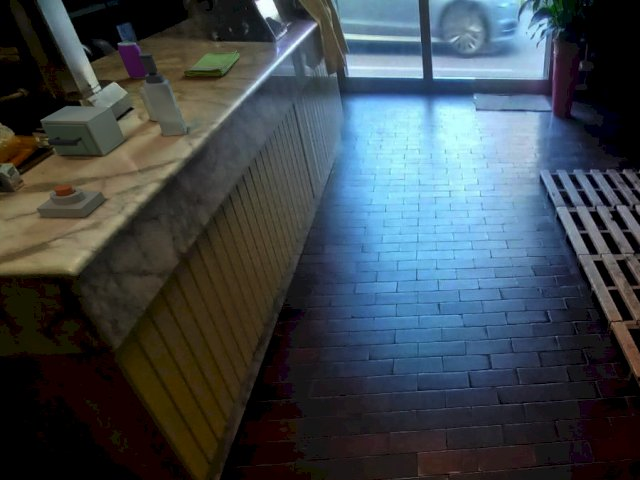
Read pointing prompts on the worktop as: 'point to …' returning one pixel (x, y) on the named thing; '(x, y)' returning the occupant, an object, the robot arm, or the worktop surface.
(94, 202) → the control block
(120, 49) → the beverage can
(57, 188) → the button
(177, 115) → the soap dispenser
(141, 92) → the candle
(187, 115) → the worktop surface
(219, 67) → the dish towel
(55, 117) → the cabinet
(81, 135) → the drawer
